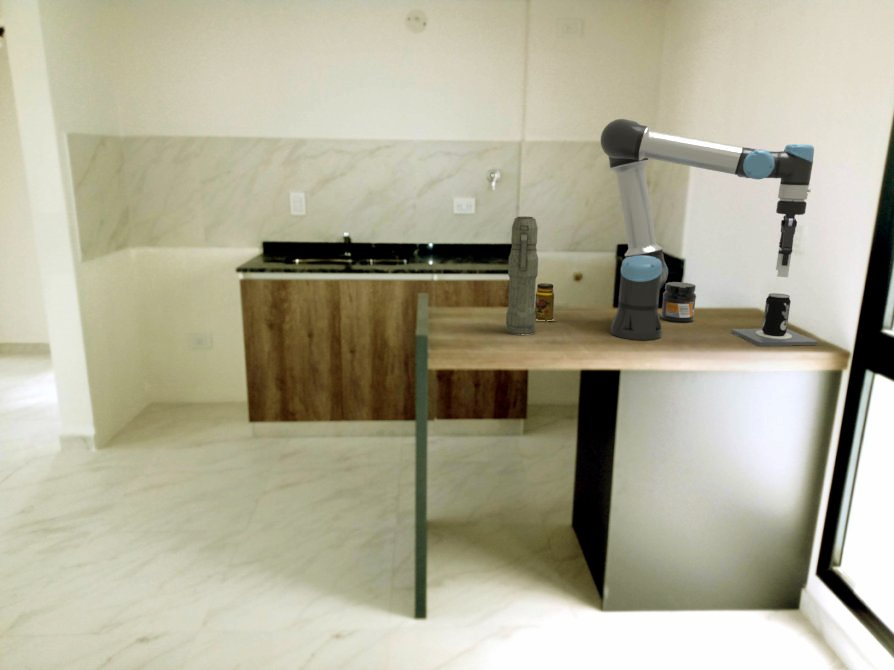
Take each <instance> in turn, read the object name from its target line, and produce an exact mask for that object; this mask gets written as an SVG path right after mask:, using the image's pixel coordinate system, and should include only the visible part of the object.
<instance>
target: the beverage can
mask: <svg viewBox="0 0 894 670" xmlns="http://www.w3.org/2000/svg"><path fill="white" fill-rule="evenodd" d="M791 302H792V301H791V298H790V295H789V294H784V293H776V292H774V293H772V292H771V293H768V296H767V297H766V300H765V305H764V312H763V313H764V314H763V320H762V321H763V322H762V328H761V329H762V331H763V332H764V334H766V335H770V336H783V335H784V334H786V330H787V329H788V324H789V323H788V321H789V317H790V308H791Z"/></svg>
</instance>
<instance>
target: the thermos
mask: <svg viewBox="0 0 894 670" xmlns="http://www.w3.org/2000/svg"><path fill="white" fill-rule="evenodd" d="M537 244H538V225H537V221H536V218H534V217H533V216H517V217H515V218H514V220H513V223H512V226H511V248H510V254H509V256H508V271H507V272H508V273H507V275H508V277H509V282H508V285H509V287H508V308H507V311H506V319H505V320H506V321H505V323H506V324H505V325H506V333H507V332H509V333H512V334H511V335H513V334H520V335H519V336H522V335H521V334H531V333H534V334H535V332H536V331H535V326H536V322H537V321H536V314H535V301H536V282H537V281H536V279H537V277H538V271H539V257H538V254H537ZM509 333H508V334H509ZM531 335H532V334H531Z"/></svg>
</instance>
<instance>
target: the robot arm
mask: <svg viewBox="0 0 894 670" xmlns="http://www.w3.org/2000/svg"><path fill="white" fill-rule="evenodd" d="M599 141H600V146H601V149H602V150H603V152H604V154H605V155H606V156H608V162H609V168H610V170H611V171H612V172H614V173H615V174H616V180H617V185H618V186H617V187H618V191H619V192H618V193H619V198H620V204H621V211H622V216H623V222H624V229H625V234H626V236H625V237H626V240H627V247H628V249H627V251H626V252H625V253H624V259H623V260H622V262H621V266H620V282H619V292H618V293H619V295H618V304H617V305H618V307H617V311H616V313H615V315H614V318H613V320H612V322H611V325H610V333H611V334H612V335H613V336H615V337H617V338H621V339H627V340H634V341H635V340H637V341H650V340H652V341H653V340H656V339H660V338H661V337H662V332H663V328H662V325H661V319H660V316H659V311H658V310H659V302H660V301H659V299H660V291H661V288H662V287H664V285H665V284H666V281H667V279H668V275H669V268H668V266H667V264H666V262H665V257H664V252H663V251H664V250H663V247H662V246H660V245H659V244H658V243H657V240H656V234H655V227H654V219H653V214H652V208H651V202H650V200H651V199H650V196H649V195H650V194H649V188H648V182H647V181H648V180H647V175H646V170H645V169H646V165H647V164H648V163H649V159H650V160H656V161H661V162H667V163H670V164H671V163H672V164H675V165H676V164H678V165H681V166H688V167H692V168H699V169H704V170H710V171H714V172H718V173H724V174H730V175H736V176H737V177H738V178H745V179H753V180H763V179H780V183H779V186H778V187H779V188H778V195H777V198H778V199H779V200H778V201H777V203H776V204H777V205H776V211H775V212H776V214H780V215H784V216H782V217H783V219H781V221H780V226H781V227H780V233H781V234H780V238H779V242H778V244H779V245H778V251H777V259H776V266H775V270H776V271H777V276H776V277H777V278H778V277H780V278H789V271H790V265H791V258H792V253H793V244H794V235H795V233H796V228H797V224H798V221H797V219H796V216H803V215H805V214H806V209H807V202H806V201H805V200H807V199H808V195H809V193H811V191H812V190H811V188H809V187H810V182H811V176H812V171H813V164H814V156H815V155H814V153H815V147H814V146H813V145H812V144H802V143H801V144H799V143H798V144H797V143H796V144H794V143H793V144H791V143H790V144H786V145H785V147H784V150H780V151H770V150H769V151H768V150H765V149H756V148H750V147H744V146H739V145H733V144H728V143H722V142H715V141H710V140H705V139H700V138H695V137H694V138H693V137H688V136H683V135H677V134H671V133H665V132H660V131H654V130H652V129H651V126H647V125H642V124H640V123H638V122H636V121H634V120H630V119H625V118H618V119H614V120H612V121H611V122H609V123H608V124H607V125H605V127H604V128H603V130H602V132H601V135H600V140H599Z"/></svg>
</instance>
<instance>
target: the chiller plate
mask: <svg viewBox="0 0 894 670" xmlns="http://www.w3.org/2000/svg"><path fill="white" fill-rule="evenodd" d="M731 332H732V333H731ZM731 332H730V333H731V334H733V333H734V334H733V335H735V334H736V335H735V336H737V335H738V336H737V337H739V336H740V337H739V338H741V339H743V340H745V341H748V342H749V343H752V344H753V345H756V346H758V347H791V346H790V345H816V346H819V341H817V340H816V339H813V338H811V337H808V336H806V335H803V334H800V333H798V332H797V331H793V330H790V329H789V328H787V330H786V334H784V335H783V336H770V335H766V334H764V332H763V331H762V328H731Z"/></svg>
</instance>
